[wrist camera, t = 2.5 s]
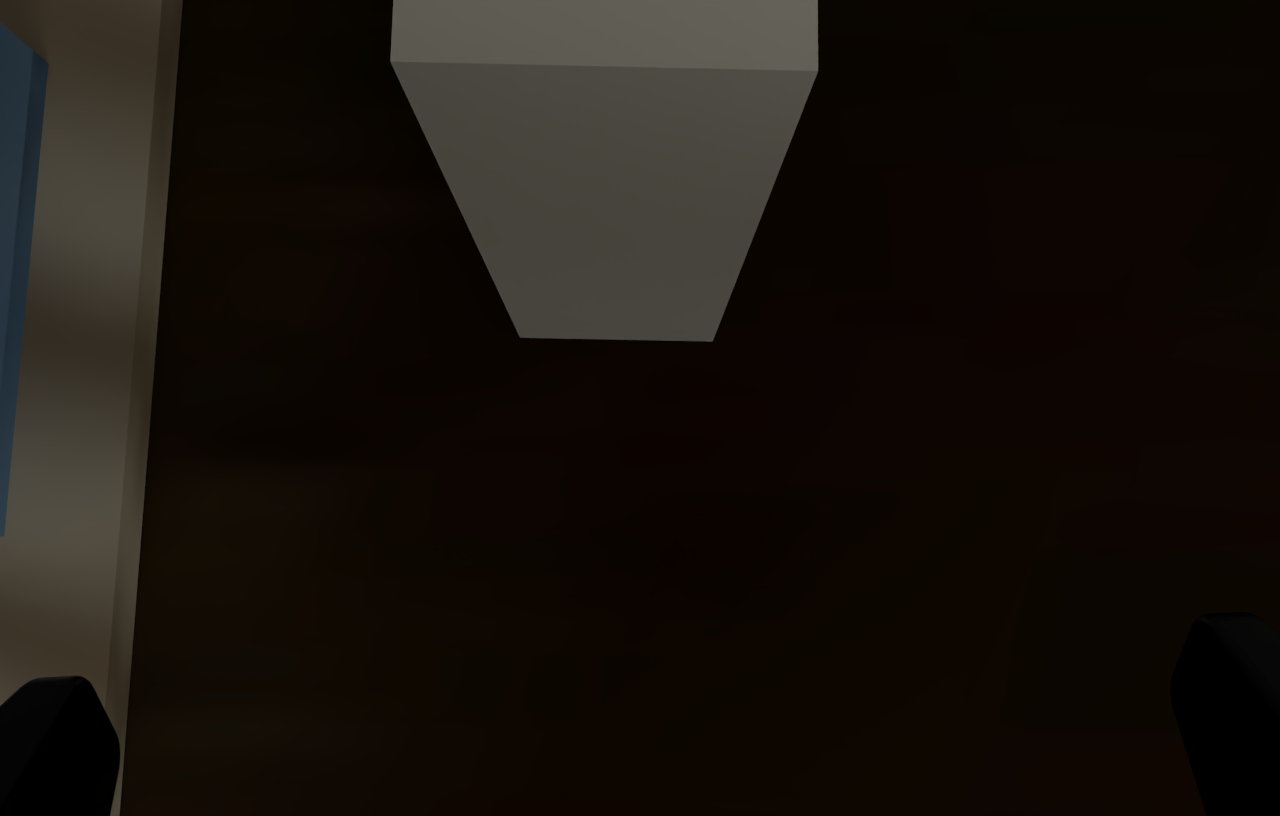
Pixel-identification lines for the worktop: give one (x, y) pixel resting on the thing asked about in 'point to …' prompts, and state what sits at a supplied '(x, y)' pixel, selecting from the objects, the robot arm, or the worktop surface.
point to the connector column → (609, 147)
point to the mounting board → (88, 343)
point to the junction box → (16, 219)
